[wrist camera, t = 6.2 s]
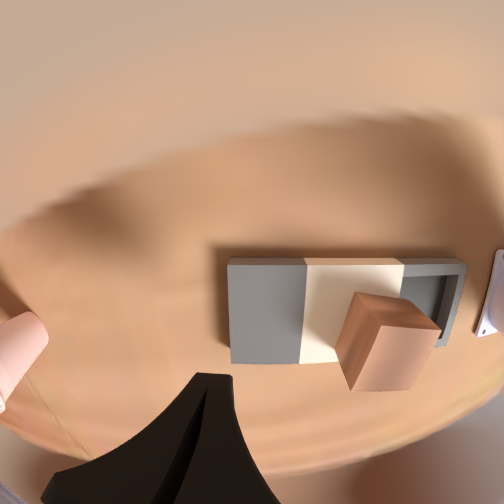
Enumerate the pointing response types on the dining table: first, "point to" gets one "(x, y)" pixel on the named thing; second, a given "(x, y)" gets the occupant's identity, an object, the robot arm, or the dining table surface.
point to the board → (327, 301)
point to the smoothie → (19, 350)
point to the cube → (384, 343)
